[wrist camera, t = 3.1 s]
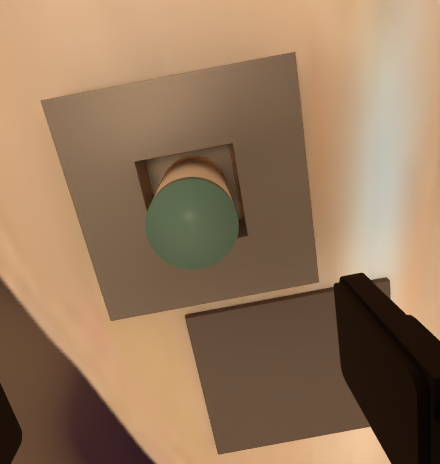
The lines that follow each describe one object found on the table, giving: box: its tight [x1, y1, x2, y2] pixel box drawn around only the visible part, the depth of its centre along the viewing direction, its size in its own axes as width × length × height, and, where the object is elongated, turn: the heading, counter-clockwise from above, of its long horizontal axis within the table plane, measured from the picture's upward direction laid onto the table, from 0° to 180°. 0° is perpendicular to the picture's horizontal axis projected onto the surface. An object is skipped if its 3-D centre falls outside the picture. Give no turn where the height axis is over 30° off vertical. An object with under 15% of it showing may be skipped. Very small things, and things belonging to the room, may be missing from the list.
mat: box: [185, 278, 390, 455], centre depth 35 cm, size 18×16×1 cm
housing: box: [41, 52, 319, 321], centre depth 28 cm, size 16×16×4 cm
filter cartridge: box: [145, 156, 239, 270], centre depth 25 cm, size 5×5×10 cm
